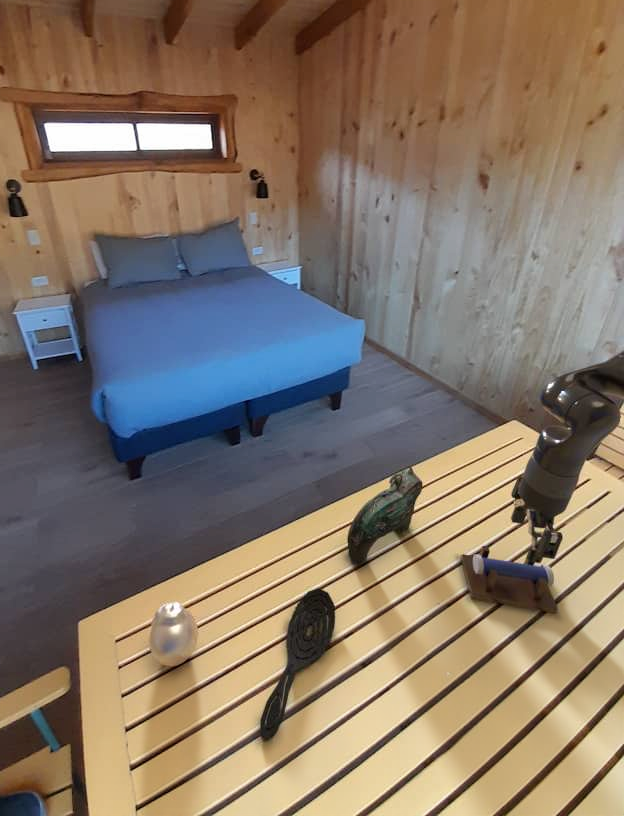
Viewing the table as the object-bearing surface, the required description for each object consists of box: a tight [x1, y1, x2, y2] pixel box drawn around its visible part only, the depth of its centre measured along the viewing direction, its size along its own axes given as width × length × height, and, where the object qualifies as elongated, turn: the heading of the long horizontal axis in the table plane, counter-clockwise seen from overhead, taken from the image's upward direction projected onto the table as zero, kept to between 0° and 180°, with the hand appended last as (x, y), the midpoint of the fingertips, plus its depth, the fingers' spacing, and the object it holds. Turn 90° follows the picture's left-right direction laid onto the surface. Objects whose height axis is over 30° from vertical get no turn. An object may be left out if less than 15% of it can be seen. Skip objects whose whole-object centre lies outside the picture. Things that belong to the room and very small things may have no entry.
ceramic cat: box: [346, 466, 423, 566], centre depth 90 cm, size 20×6×20 cm, turn 123°
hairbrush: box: [259, 587, 336, 742], centre depth 73 cm, size 8×4×25 cm
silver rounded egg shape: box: [148, 601, 199, 667], centre depth 74 cm, size 9×10×10 cm
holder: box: [460, 545, 559, 614], centre depth 84 cm, size 16×9×7 cm, turn 79°
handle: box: [472, 553, 555, 587], centre depth 83 cm, size 14×4×4 cm, turn 79°
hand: (524, 540), depth 79 cm, fingers open, 8 cm apart
